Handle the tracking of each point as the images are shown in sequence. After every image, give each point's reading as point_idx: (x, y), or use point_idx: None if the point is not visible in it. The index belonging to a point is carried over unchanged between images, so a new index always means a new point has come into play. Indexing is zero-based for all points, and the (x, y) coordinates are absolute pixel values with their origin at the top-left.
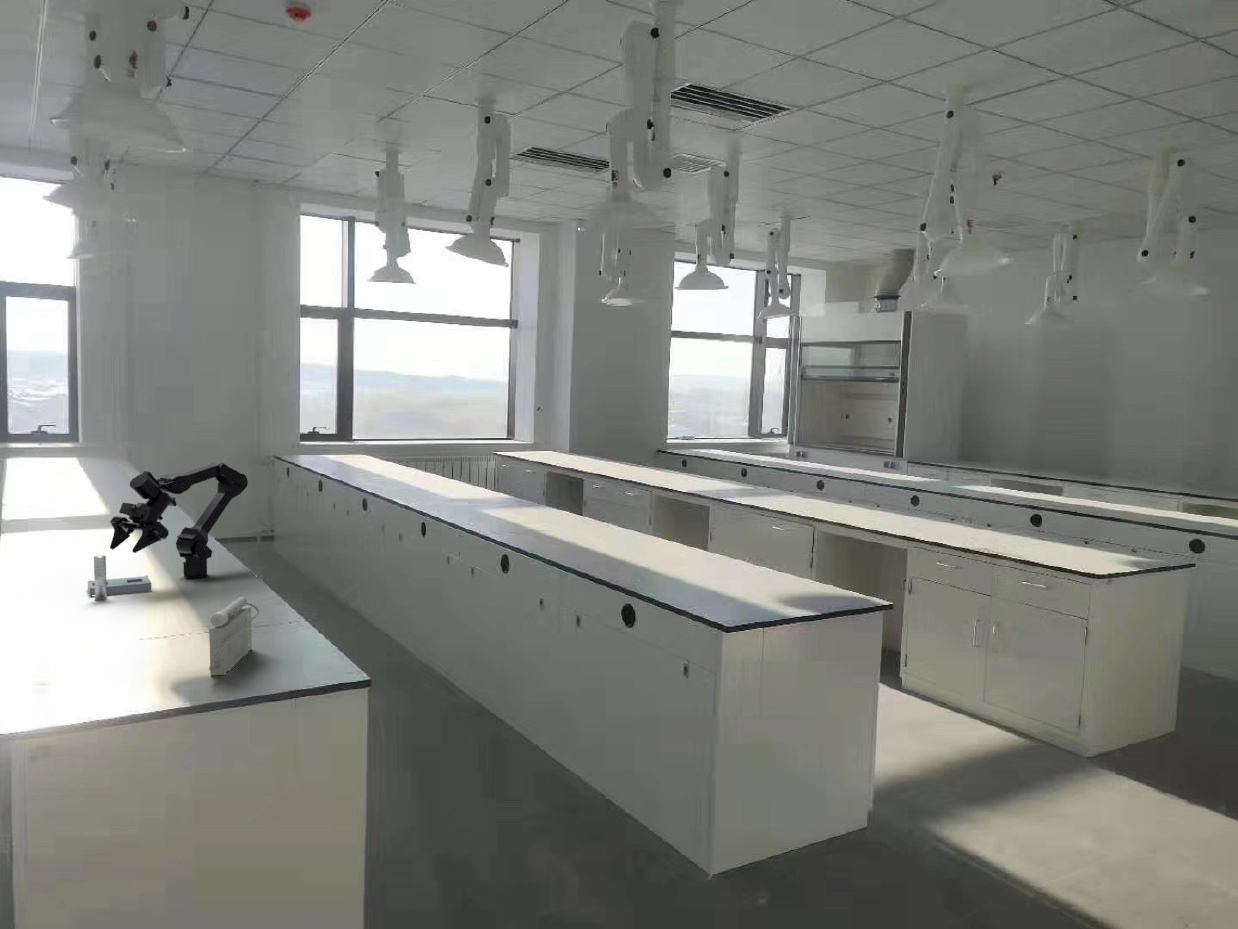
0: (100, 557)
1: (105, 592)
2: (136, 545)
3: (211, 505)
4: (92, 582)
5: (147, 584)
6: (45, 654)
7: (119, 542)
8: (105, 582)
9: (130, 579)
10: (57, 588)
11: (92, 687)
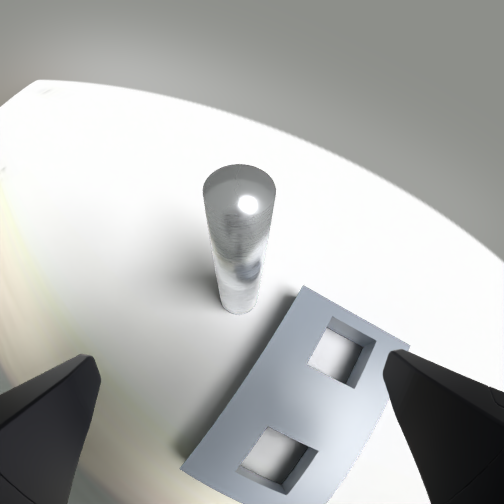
0: (210, 176)
1: (219, 292)
2: (44, 377)
3: None
4: (382, 345)
5: (188, 458)
6: (76, 100)
7: (421, 446)
8: (216, 276)
9: (312, 465)
10: (451, 304)
11: (15, 108)
